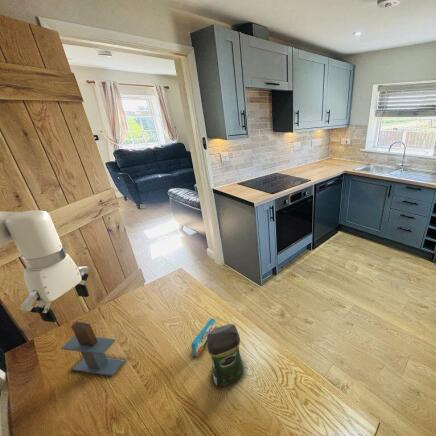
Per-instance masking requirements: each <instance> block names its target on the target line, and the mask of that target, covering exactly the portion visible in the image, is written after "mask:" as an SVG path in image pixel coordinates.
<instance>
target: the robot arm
mask: <svg viewBox="0 0 436 436" xmlns="http://www.w3.org/2000/svg"><path fill="white" fill-rule="evenodd" d="M11 241H13V242H14V245H15V247H16V249H17V250H18V252H19V255H20V256H21V258H22V260H23V262H24V264H25V266H26V267H25V268H24V269H23V278H24V282H25V283H24V284H25V286H26V289H27V292H28V294H29V295H28V297H26V299H25V300H24V301H23V303H22V304H21V305H20V306H19V309H20V310H22V311H24V312H27V313H35V314H38V315H39V316H40V318H41V320H42V321H43V322H49V323H55V322H57V320H58V319H57V317H56V314H55V312H54V310H53V309H51V308H50V307H51V304H52V302H53V301H55V300H57V299H58V298H60V297H61V296H63V295H65V294H66V293H67V292H69V291H70V290H71V289H73V288H74V290H75V292H76V294H77V297H82V298H88V297H89V296H90V293H89V290H88V287H87V284H88V278H89V271H90V267H89V266H77V264H76V263H75V261H74V260H73V259H72V257H71V256H70V255H69V254H68V253H66V249H67V248H68V246H67V244H66V243H63V244H62V242H61V239H60V237H59V234H58V231H57V229H56V227H55V225H54V222H53V219H52V217H51V216H50V214H49V212H47V211H44V210H42V209H41V210H38V209H36V210H35V209H34V210H26V211H21V212H20V211H19V212H18V211H17V212H15V211H0V247H2V246H3V245H5V244H7V243H9V242H11ZM34 303H36V304H35V306H34Z"/></svg>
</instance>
